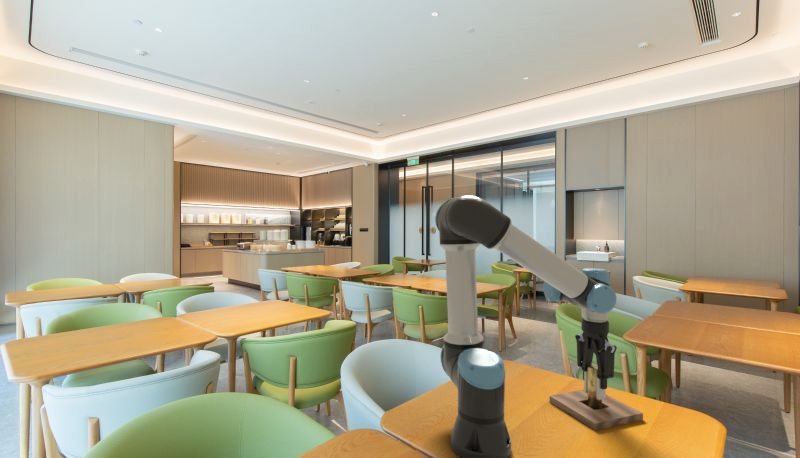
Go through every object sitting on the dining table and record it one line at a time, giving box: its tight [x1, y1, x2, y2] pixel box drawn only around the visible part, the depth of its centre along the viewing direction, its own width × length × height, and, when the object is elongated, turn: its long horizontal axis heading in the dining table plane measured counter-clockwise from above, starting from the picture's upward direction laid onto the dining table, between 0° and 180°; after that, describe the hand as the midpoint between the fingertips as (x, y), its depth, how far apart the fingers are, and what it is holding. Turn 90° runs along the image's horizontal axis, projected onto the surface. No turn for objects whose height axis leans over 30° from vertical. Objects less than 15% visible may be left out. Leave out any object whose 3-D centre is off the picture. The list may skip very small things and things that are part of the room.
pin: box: [587, 364, 602, 410], centre depth 116 cm, size 4×4×12 cm
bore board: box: [549, 389, 644, 431], centre depth 116 cm, size 18×18×2 cm
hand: (594, 395), depth 116 cm, fingers closed on pin, 4 cm apart
